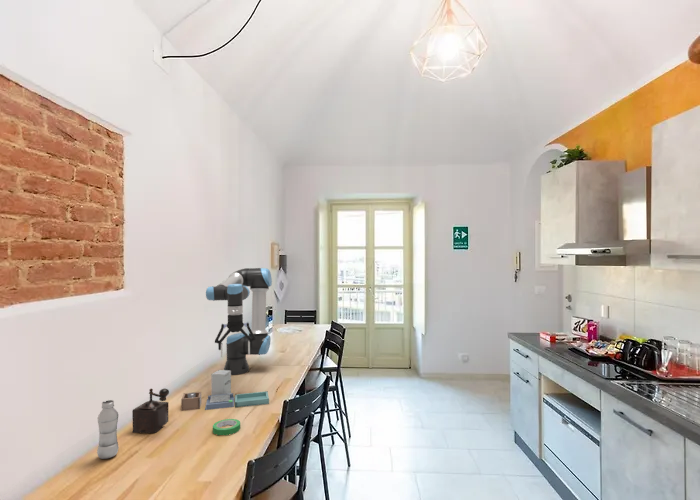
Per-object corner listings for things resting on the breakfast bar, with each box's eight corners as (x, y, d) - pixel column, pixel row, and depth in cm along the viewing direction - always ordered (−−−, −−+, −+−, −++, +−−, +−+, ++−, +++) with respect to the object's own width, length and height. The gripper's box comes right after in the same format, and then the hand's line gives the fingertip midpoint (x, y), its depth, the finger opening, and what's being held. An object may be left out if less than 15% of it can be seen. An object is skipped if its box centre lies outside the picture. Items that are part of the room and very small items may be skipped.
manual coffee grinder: (130, 433, 163) (130, 389, 163) (146, 422, 174) (146, 381, 174) (165, 434, 161) (165, 390, 161) (180, 423, 172) (180, 381, 172)
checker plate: (211, 398, 195) (211, 396, 195) (230, 396, 198) (230, 394, 198) (209, 404, 187) (209, 402, 187) (229, 402, 189) (229, 400, 189)
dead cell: (188, 405, 190) (188, 392, 190) (196, 404, 191) (196, 392, 191) (187, 408, 187) (187, 395, 187) (195, 407, 187) (195, 394, 188)
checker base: (207, 401, 197) (207, 394, 197) (234, 398, 200) (234, 391, 200) (204, 411, 184) (204, 403, 184) (233, 408, 188) (233, 400, 188)
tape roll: (218, 424, 171) (218, 418, 171) (243, 424, 171) (243, 418, 171) (208, 436, 160) (208, 429, 160) (235, 436, 160) (235, 429, 160)
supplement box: (224, 399, 199) (224, 374, 199) (211, 398, 201) (210, 373, 201) (231, 394, 207) (231, 370, 207) (218, 393, 208) (218, 369, 208)
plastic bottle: (103, 452, 147) (102, 399, 147) (122, 451, 147) (121, 398, 147) (93, 462, 140) (93, 405, 140) (113, 461, 141) (112, 404, 141)
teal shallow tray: (235, 399, 199) (235, 394, 199) (267, 396, 204) (267, 391, 204) (235, 407, 189) (234, 402, 189) (268, 403, 193) (268, 398, 193)
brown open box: (183, 405, 192) (183, 393, 192) (201, 404, 194) (201, 391, 194) (181, 412, 184) (181, 399, 184) (199, 410, 186) (199, 397, 186)
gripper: (209, 316, 197) (209, 359, 196) (260, 313, 204) (260, 354, 204) (209, 314, 204) (210, 355, 204) (259, 311, 211) (259, 351, 211)
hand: (235, 355), depth 204 cm, fingers open, 13 cm apart
